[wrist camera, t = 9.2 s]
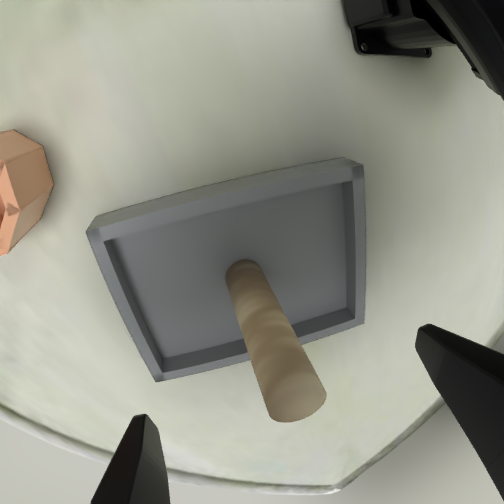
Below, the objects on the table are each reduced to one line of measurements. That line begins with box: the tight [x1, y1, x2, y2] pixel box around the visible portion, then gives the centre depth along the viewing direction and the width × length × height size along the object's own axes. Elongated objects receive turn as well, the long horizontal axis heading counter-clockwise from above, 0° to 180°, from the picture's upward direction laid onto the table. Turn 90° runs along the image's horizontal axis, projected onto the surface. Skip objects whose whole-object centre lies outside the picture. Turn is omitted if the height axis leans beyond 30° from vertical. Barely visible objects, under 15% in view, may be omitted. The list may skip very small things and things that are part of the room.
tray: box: [86, 157, 366, 382], centre depth 21 cm, size 16×12×2 cm
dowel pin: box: [225, 259, 326, 422], centre depth 16 cm, size 2×2×10 cm
